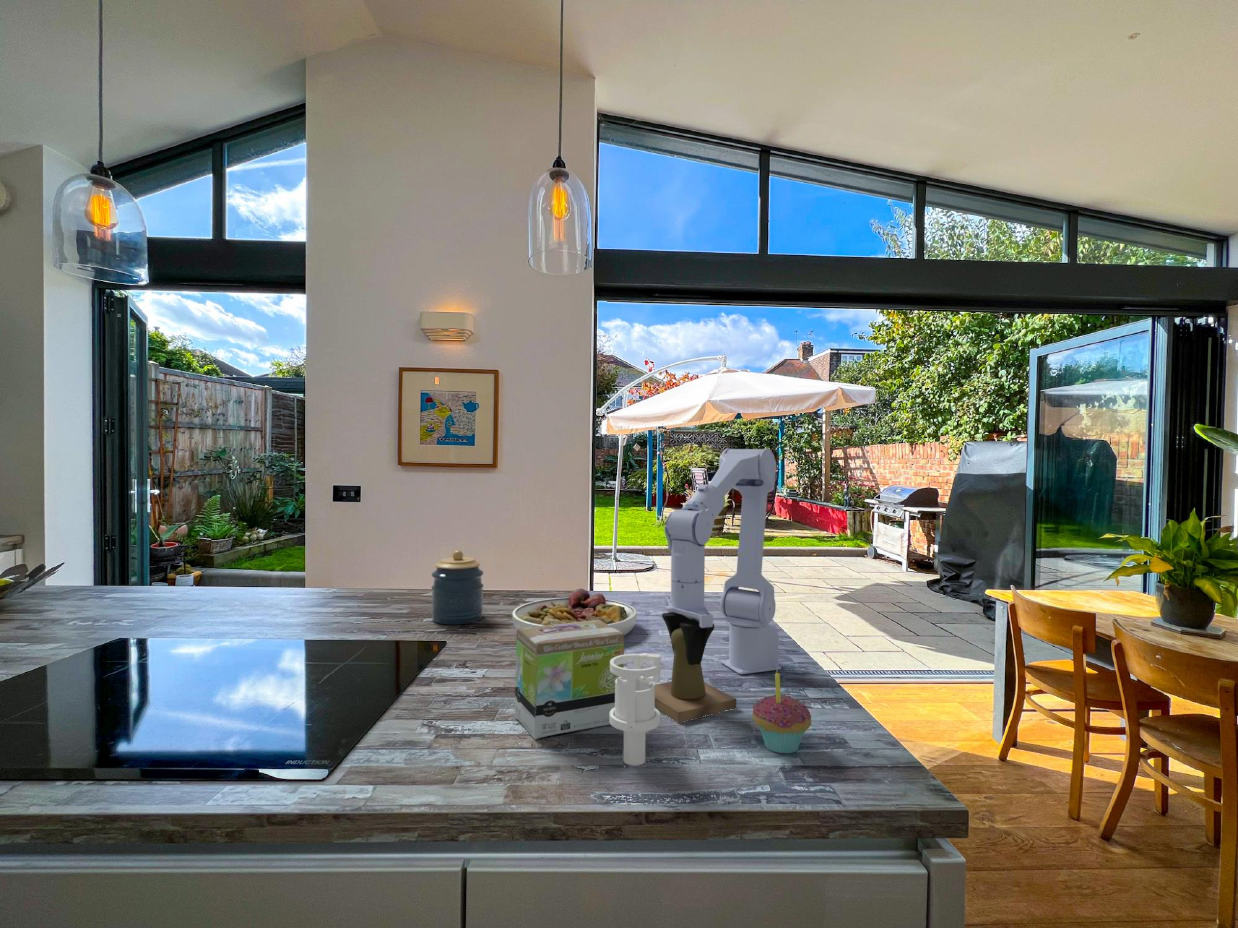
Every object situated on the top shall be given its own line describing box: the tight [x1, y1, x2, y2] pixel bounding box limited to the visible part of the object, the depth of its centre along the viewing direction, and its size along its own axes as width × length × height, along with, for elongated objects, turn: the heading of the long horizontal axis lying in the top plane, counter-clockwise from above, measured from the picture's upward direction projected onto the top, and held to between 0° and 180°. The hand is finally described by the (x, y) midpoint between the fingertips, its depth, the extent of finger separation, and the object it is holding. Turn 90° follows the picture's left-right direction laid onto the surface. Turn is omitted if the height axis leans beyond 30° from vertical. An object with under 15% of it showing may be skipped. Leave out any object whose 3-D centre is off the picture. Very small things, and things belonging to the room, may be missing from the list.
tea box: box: [514, 620, 625, 740], centre depth 102 cm, size 15×10×15 cm, turn 117°
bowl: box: [512, 588, 638, 636], centre depth 155 cm, size 30×30×8 cm
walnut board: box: [649, 680, 737, 724], centre depth 110 cm, size 12×12×2 cm
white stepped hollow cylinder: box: [609, 652, 661, 767], centre depth 89 cm, size 7×7×15 cm
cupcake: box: [752, 669, 812, 754], centre depth 94 cm, size 9×8×12 cm
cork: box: [670, 628, 706, 700], centre depth 109 cm, size 6×6×11 cm
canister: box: [431, 550, 484, 625], centre depth 165 cm, size 13×13×18 cm
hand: (687, 658), depth 110 cm, fingers open, 5 cm apart
